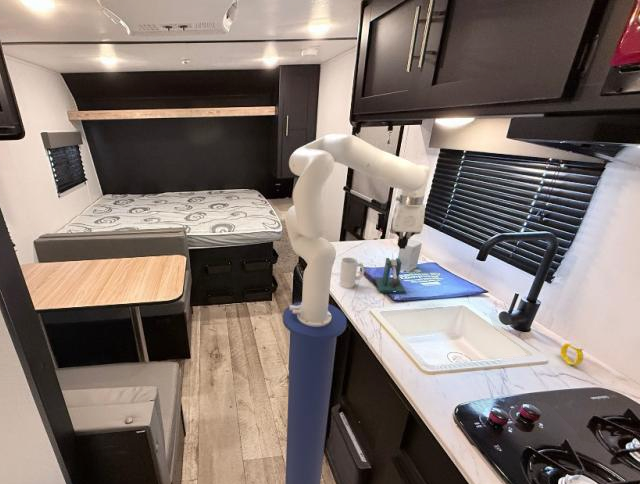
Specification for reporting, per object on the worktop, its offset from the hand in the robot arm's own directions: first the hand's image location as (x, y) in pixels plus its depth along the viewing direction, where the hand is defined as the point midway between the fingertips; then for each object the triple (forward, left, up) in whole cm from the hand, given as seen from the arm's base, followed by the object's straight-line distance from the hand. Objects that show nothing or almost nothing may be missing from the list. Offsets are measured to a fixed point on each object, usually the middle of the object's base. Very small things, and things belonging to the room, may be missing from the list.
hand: (401, 247), depth 120 cm
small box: (+13, +28, -22) cm, 38 cm away
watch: (+41, -34, -22) cm, 57 cm away
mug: (-16, +8, -22) cm, 28 cm away
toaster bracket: (+1, +8, -22) cm, 23 cm away
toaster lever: (+1, +5, -14) cm, 15 cm away
